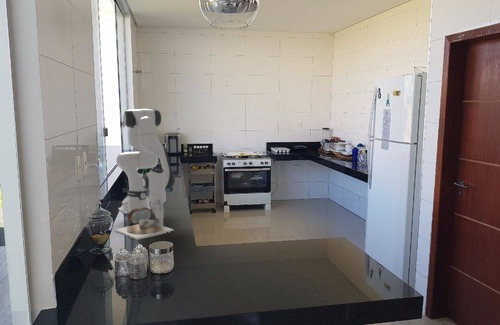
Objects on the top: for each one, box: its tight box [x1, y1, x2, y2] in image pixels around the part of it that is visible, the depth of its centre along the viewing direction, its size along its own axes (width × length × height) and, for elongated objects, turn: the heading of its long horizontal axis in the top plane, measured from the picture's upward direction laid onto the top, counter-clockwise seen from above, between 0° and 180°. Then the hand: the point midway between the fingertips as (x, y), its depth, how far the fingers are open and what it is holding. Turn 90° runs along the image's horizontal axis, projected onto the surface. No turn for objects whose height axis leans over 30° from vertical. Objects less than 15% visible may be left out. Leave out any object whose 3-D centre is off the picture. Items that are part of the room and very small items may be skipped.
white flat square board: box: [114, 225, 174, 241], centre depth 209 cm, size 22×22×1 cm
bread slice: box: [127, 207, 153, 225], centre depth 226 cm, size 15×3×8 cm, turn 141°
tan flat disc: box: [127, 218, 164, 234], centre depth 209 cm, size 19×18×5 cm
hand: (157, 223), depth 214 cm, fingers closed
